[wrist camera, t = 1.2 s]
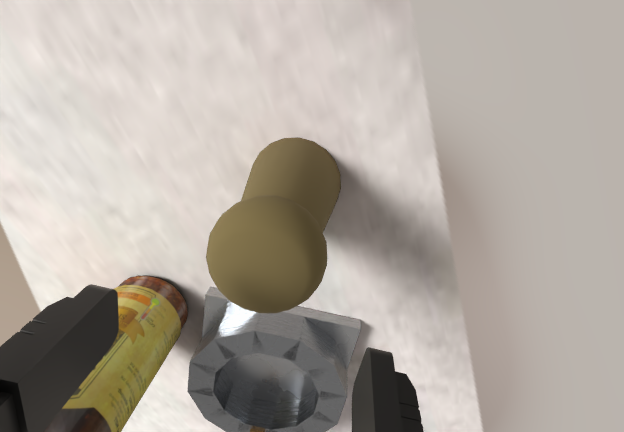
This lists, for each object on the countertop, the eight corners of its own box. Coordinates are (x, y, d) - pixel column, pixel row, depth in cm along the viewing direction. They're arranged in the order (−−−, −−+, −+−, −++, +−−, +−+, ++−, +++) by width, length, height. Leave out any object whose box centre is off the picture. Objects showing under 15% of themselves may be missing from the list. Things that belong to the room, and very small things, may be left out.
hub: (210, 287, 29) (188, 325, 25) (360, 320, 29) (362, 363, 25) (200, 391, 34) (180, 436, 30) (327, 419, 34) (324, 467, 30)
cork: (357, 199, 25) (363, 305, 15) (281, 237, 26) (241, 354, 16) (311, 119, 23) (282, 178, 13) (233, 165, 24) (153, 249, 14)
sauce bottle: (164, 260, 28) (-161, 643, 10) (205, 322, 30) (-3, 724, 12) (98, 284, 30) (-286, 651, 12) (141, 340, 32) (-126, 722, 14)
